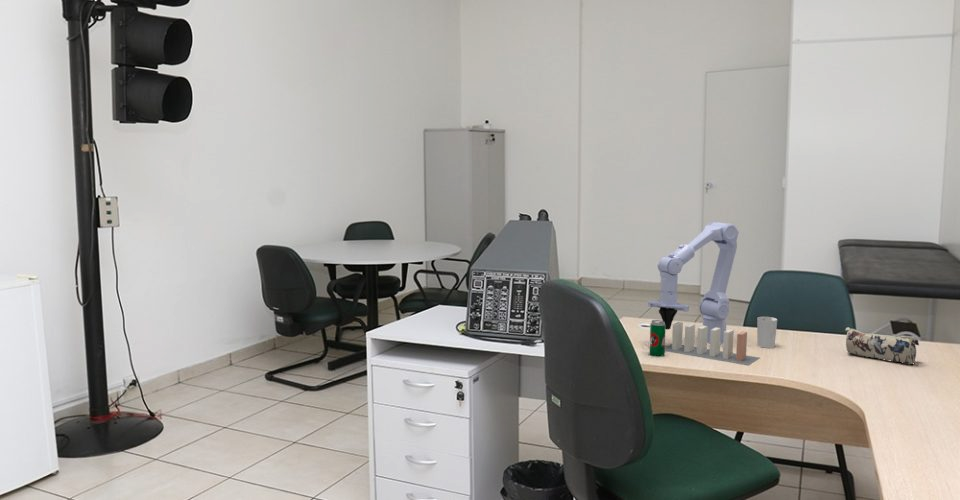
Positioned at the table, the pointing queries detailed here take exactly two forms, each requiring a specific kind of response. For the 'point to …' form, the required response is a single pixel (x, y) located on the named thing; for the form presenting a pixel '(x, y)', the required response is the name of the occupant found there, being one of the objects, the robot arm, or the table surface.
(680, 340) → the domino
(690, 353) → the felt mat
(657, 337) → the soda can
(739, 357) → the domino
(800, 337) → the table surface
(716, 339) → the domino
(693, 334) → the domino
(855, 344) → the pencil case
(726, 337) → the domino
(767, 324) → the drinking glass
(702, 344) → the domino
